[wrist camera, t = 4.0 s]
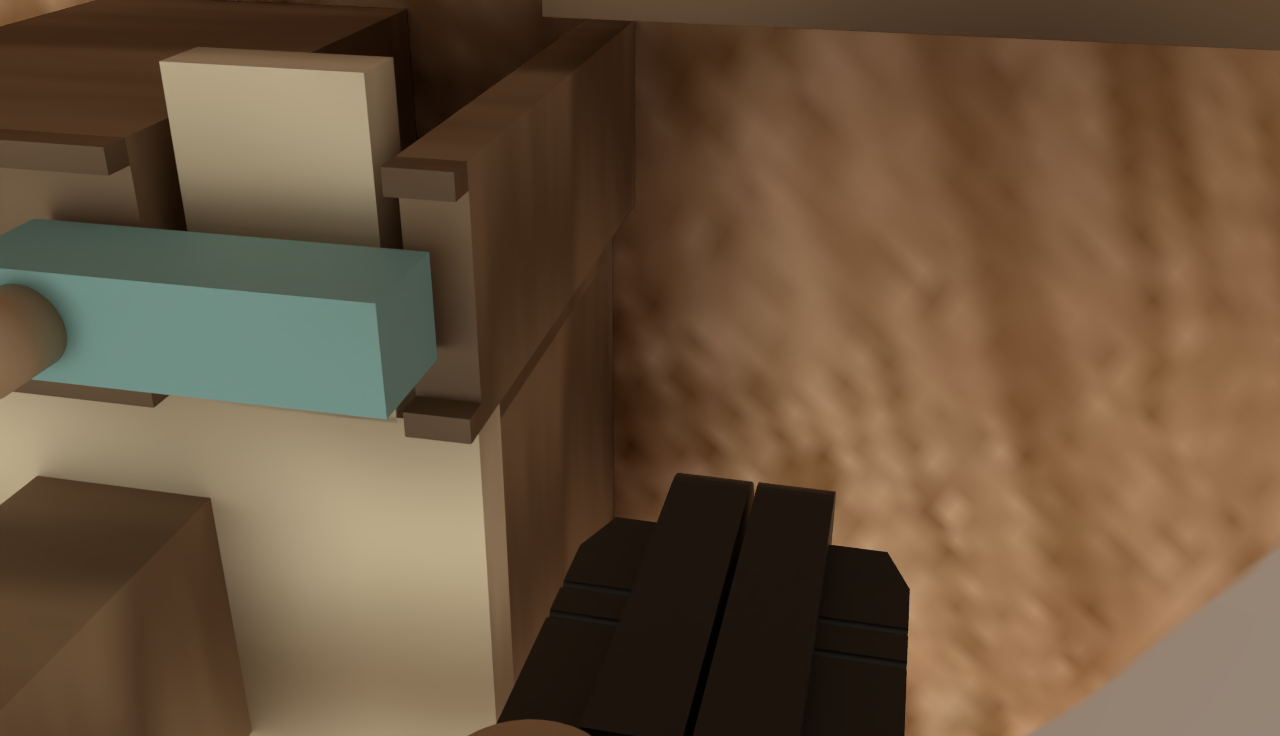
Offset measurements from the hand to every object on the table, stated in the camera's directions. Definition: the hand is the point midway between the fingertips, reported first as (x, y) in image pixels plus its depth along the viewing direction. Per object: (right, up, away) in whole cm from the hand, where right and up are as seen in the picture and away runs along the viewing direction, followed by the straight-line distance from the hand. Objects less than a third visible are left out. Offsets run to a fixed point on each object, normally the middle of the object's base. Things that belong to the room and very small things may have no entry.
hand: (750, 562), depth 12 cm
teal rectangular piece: (-7, +3, +6) cm, 9 cm away
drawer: (-9, +1, +10) cm, 14 cm away
